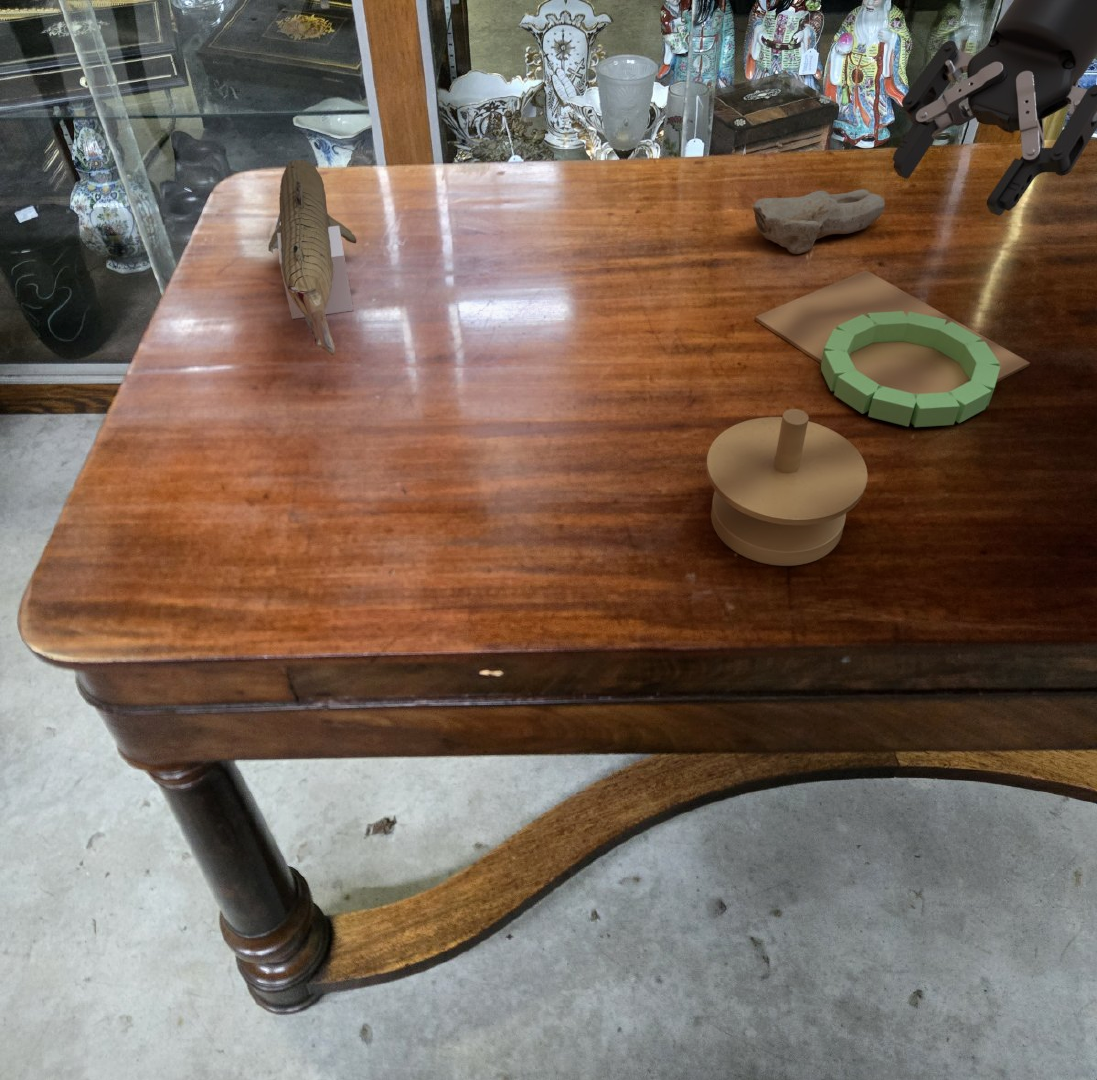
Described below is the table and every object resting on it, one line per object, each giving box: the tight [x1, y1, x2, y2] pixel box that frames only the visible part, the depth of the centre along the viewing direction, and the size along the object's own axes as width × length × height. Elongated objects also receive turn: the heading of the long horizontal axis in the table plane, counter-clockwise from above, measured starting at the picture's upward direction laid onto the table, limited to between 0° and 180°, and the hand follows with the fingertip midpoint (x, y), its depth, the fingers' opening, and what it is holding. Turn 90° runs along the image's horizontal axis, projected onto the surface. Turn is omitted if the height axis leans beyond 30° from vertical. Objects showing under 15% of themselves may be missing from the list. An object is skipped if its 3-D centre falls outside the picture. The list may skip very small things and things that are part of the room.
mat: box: [754, 269, 1031, 425], centre depth 97 cm, size 20×15×1 cm
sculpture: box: [752, 188, 886, 255], centre depth 110 cm, size 7×5×15 cm
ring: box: [820, 311, 1000, 428], centre depth 92 cm, size 15×15×2 cm
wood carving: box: [268, 159, 357, 356], centre depth 98 cm, size 9×35×11 cm, turn 13°
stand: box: [705, 408, 869, 567], centre depth 76 cm, size 12×12×10 cm
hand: (944, 191), depth 81 cm, fingers open, 8 cm apart
